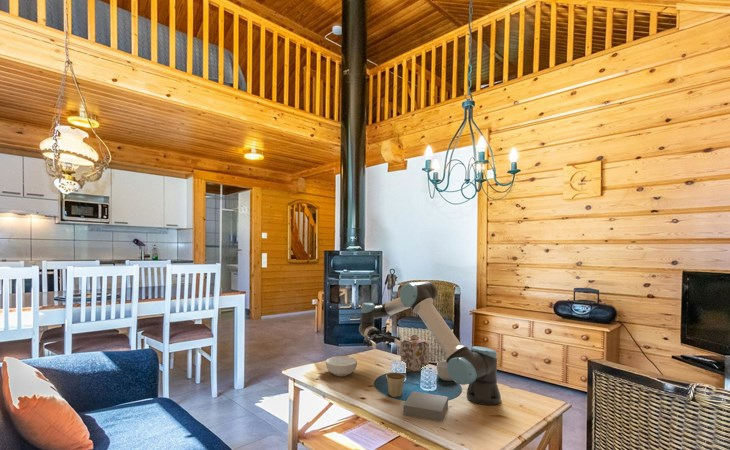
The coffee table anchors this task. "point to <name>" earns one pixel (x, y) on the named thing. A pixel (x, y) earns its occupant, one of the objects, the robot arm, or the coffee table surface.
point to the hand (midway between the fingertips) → (387, 345)
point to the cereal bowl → (341, 365)
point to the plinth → (426, 406)
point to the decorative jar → (415, 352)
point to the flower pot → (395, 383)
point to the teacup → (443, 371)
